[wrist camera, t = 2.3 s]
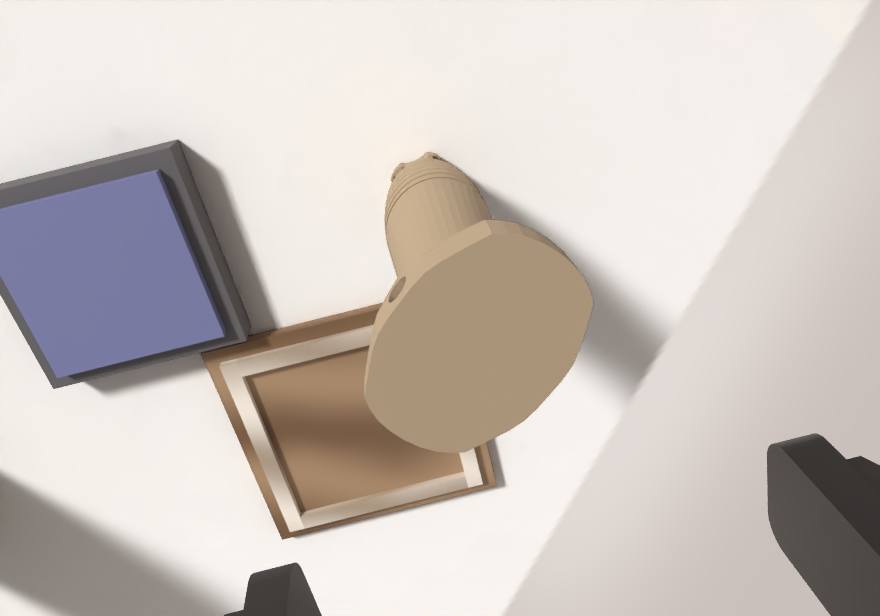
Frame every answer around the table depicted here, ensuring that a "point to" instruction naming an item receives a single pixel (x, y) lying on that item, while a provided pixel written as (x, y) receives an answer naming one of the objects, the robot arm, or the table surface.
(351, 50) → the table surface
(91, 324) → the ink pad
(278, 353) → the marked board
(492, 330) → the handle
